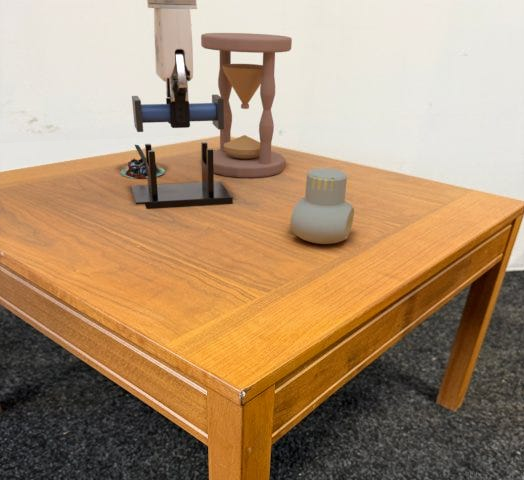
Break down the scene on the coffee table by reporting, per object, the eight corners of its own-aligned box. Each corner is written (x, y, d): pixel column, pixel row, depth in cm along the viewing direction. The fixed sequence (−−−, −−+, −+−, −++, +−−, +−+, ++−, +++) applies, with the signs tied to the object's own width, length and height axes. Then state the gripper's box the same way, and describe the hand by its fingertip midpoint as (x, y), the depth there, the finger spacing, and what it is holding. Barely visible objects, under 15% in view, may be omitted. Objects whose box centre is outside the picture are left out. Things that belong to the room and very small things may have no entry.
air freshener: (304, 223, 91) (308, 161, 86) (353, 230, 89) (361, 167, 84) (285, 246, 82) (289, 179, 77) (340, 254, 80) (348, 186, 75)
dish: (170, 163, 111) (137, 139, 109) (150, 192, 110) (117, 168, 108) (166, 172, 118) (136, 150, 116) (147, 199, 118) (117, 177, 116)
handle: (137, 132, 90) (134, 100, 87) (134, 126, 94) (131, 95, 91) (224, 129, 94) (223, 98, 91) (217, 123, 98) (217, 94, 95)
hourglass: (191, 161, 122) (186, 32, 109) (258, 154, 130) (262, 33, 116) (227, 182, 110) (227, 38, 96) (300, 173, 117) (309, 39, 104)
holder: (136, 209, 94) (131, 155, 89) (131, 192, 102) (126, 141, 97) (232, 203, 98) (233, 151, 94) (220, 187, 106) (220, 139, 102)
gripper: (141, -4, 89) (150, 117, 99) (153, -3, 76) (163, 136, 86) (187, -3, 91) (192, 116, 101) (206, -2, 78) (210, 134, 88)
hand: (178, 124), depth 93 cm, fingers closed on handle, 2 cm apart
